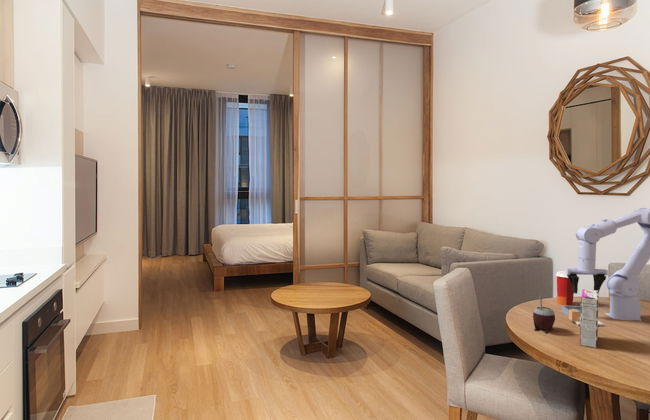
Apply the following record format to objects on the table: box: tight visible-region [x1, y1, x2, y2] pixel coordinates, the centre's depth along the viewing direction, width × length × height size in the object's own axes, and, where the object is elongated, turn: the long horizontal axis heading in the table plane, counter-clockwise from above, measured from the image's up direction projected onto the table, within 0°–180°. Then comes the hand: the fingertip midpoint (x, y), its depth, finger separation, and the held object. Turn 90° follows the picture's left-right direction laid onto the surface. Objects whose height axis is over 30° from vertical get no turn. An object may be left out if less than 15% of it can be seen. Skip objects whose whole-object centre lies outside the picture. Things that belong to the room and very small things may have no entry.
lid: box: [568, 309, 604, 327], centre depth 163 cm, size 10×7×5 cm
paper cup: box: [555, 270, 575, 306], centre depth 187 cm, size 8×8×14 cm
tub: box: [561, 305, 581, 318], centre depth 173 cm, size 8×6×3 cm
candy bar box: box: [579, 288, 600, 349], centre depth 145 cm, size 11×5×16 cm, turn 148°
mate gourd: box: [532, 292, 556, 335], centre depth 156 cm, size 8×8×15 cm
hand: (585, 293), depth 169 cm, fingers open, 7 cm apart
